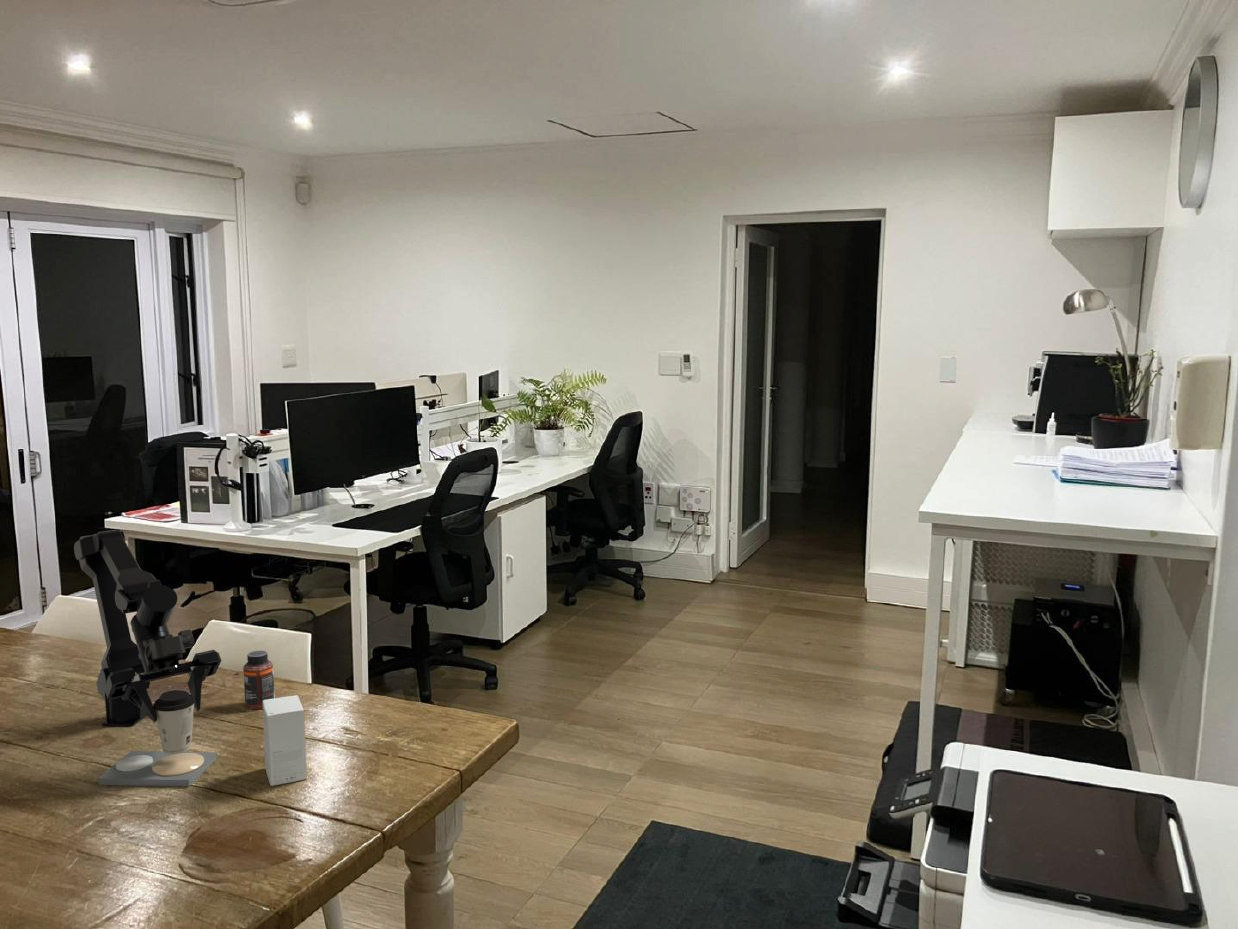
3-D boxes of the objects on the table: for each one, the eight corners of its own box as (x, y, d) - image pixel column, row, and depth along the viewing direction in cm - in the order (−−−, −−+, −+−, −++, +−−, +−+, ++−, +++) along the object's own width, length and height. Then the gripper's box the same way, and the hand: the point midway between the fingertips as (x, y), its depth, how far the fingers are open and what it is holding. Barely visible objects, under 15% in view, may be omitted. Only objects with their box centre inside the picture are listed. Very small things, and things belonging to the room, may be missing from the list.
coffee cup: (204, 749, 174) (201, 696, 172) (163, 761, 169) (160, 706, 167) (189, 736, 179) (186, 685, 177) (149, 748, 174) (146, 695, 172)
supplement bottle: (280, 700, 207) (277, 649, 206) (267, 710, 202) (264, 658, 200) (253, 698, 208) (250, 648, 206) (239, 709, 202) (237, 657, 201)
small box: (307, 780, 172) (304, 710, 170) (269, 787, 169) (266, 716, 167) (301, 761, 179) (298, 694, 177) (264, 768, 176) (261, 699, 174)
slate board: (98, 785, 169) (98, 776, 169) (131, 757, 180) (131, 748, 180) (189, 786, 169) (188, 778, 168) (216, 758, 180) (216, 750, 179)
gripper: (105, 628, 167) (128, 708, 160) (215, 607, 179) (241, 681, 173) (95, 659, 174) (117, 738, 167) (201, 637, 186) (226, 709, 180)
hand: (177, 715), depth 172 cm, fingers closed on coffee cup, 7 cm apart
